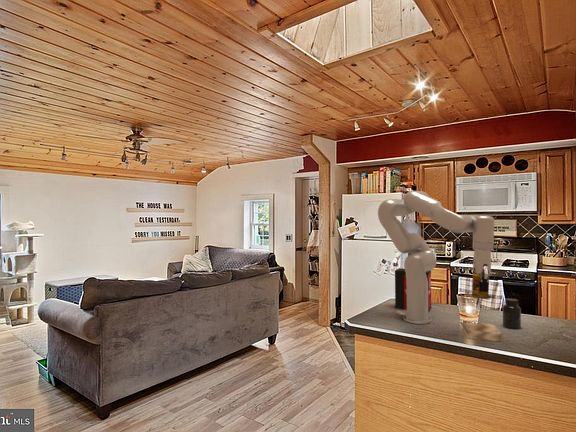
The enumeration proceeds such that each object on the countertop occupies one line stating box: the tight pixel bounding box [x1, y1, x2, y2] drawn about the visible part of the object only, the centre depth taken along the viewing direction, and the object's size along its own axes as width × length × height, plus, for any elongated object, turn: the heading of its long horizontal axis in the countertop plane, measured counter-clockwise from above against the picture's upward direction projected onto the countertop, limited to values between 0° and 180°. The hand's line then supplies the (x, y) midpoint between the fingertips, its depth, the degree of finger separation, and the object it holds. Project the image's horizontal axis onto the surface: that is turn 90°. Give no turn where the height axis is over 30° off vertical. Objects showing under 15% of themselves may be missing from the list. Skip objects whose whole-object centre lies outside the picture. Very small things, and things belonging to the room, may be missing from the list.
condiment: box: [469, 268, 494, 300], centre depth 151 cm, size 7×8×12 cm
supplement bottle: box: [502, 298, 522, 330], centre depth 161 cm, size 7×7×12 cm
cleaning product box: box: [394, 267, 432, 313], centre depth 193 cm, size 16×9×20 cm, turn 60°
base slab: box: [462, 322, 503, 342], centre depth 150 cm, size 12×12×3 cm
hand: (481, 289), depth 150 cm, fingers closed on condiment, 6 cm apart
